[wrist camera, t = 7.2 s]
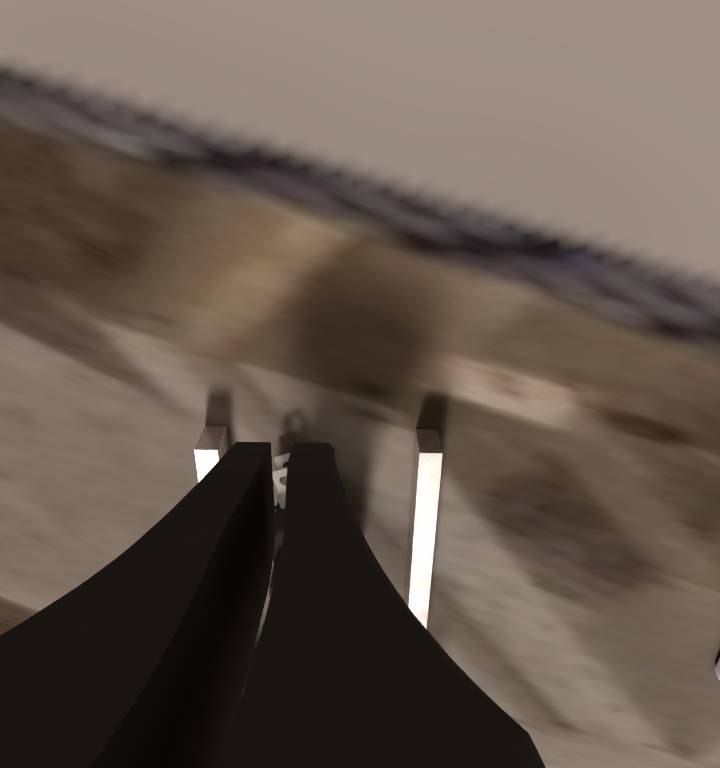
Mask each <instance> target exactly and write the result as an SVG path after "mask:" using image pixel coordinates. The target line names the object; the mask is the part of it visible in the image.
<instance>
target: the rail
mask: <svg viewBox="0 0 720 768" xmlns="http://www.w3.org/2000/svg"><path fill="white" fill-rule="evenodd" d="M228 450H229V446H228V436H227V426H205V427H204V429H203V431H202V434H201V436H200V438H199V441H198V443H197V445H196V447H195V450H194V451H195V459H196V466H197V474H198V482H199V481H200V480H201V479H202V478H203V477H204V476H205V475H206V474H207V473H208V472H209V471H210V470H211V468H212V467H213V466H214V465H215V464H216V463H217V462H218V461H219V460H220V459H221V458H222V456H223V455H224V454H225V453H226V452H227V451H228ZM442 455H443V453H442V448H441V444H440V439H439V434H438V429H416V435H415V450H414V465H413V480H412V495H411V510H410V525H409V540H408V554H407V569H406V584H405V599H404V602H405V603H406V604H407V606H408V607H409V608H410V610H411V611H412V612H413V614H414V615H415V616H416V617H417V619H418V620H419V621H420V622H421V623H422V625H423V626H424V627H425V628H426V629H427V618H428V607H429V596H430V585H431V574H432V563H433V552H434V542H435V531H436V520H437V509H438V498H439V487H440V476H441V465H442Z"/></svg>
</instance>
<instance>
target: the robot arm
mask: <svg viewBox="0 0 720 768" xmlns="http://www.w3.org/2000/svg"><path fill="white" fill-rule="evenodd" d="M275 536H276V523H275V507H274V490H273V473H272V456H271V442H236V443H235V444H234V445H233V446H232V447H231V448H230V449H229V450H228V451H227V452H226V453H225V454H224V455H223V456H222V458H221V459H220V460H219V461H218V462H217V463H216V464H215V465H214V466H213V467H212V468H211V470H210V471H209V472H208V473H207V474H206V475H205V476H204V477H203V478H202V479H201V480H200V481H199V482H198V483H197V485H196V486H195V487H194V488H193V489H192V490H191V491H190V492H189V493H188V494H187V495H186V496H185V497H184V498H183V499H182V500H181V501H180V502H179V503H178V504H177V505H176V506H175V507H174V508H173V509H172V510H171V511H170V512H169V513H168V514H166V515H165V516H164V517H163V518H162V519H161V520H160V521H159V522H158V523H157V524H155V525H154V526H153V527H152V528H151V529H150V530H149V531H148V532H147V533H146V534H144V535H143V536H142V537H141V538H140V539H139V540H138V541H137V542H136V543H134V544H133V545H132V546H131V547H130V548H128V549H127V550H126V551H125V552H124V553H122V554H121V555H120V556H119V557H117V558H116V559H115V560H114V561H112V562H111V563H109V564H108V565H107V566H105V567H104V568H103V569H101V570H100V571H99V572H97V573H96V574H95V575H93V576H92V577H91V578H89V579H88V580H87V581H85V582H84V583H82V584H81V585H79V586H78V587H77V588H75V589H73V590H72V591H70V592H69V593H67V594H66V595H64V596H63V597H61V598H60V599H58V600H56V601H55V602H53V603H52V604H50V605H49V606H47V607H46V608H44V609H43V610H41V611H39V612H38V613H36V614H35V615H33V616H32V617H30V618H29V619H27V620H25V621H24V622H22V623H21V624H19V625H17V626H16V627H14V628H12V629H10V630H9V631H7V632H5V633H3V634H2V635H0V768H546V767H545V765H544V763H543V761H542V759H541V757H540V755H539V753H538V751H537V749H536V747H535V745H534V743H533V741H532V739H531V737H530V735H529V733H528V732H527V731H526V730H524V729H523V728H522V727H521V726H520V725H519V724H518V723H517V722H515V721H514V720H513V719H512V718H511V717H510V716H509V715H508V714H507V713H505V712H504V711H503V710H502V709H501V708H500V707H499V706H498V705H497V704H496V703H495V702H494V701H493V700H492V699H491V698H490V697H489V696H487V695H486V694H485V693H484V692H483V691H482V690H481V689H480V688H479V687H478V686H477V685H476V684H475V683H474V682H473V681H472V680H471V679H470V678H469V677H468V676H467V674H466V673H465V672H464V671H463V670H462V669H461V668H460V667H459V666H458V665H457V664H456V663H455V662H454V661H453V660H452V659H451V658H450V657H449V656H448V654H447V653H446V652H445V651H444V650H443V648H442V647H441V646H440V645H439V644H438V642H437V641H436V640H435V639H434V638H433V636H432V635H431V634H430V633H429V632H428V631H427V629H426V628H425V627H424V626H423V625H422V623H421V622H420V621H419V620H418V619H417V617H416V616H415V615H414V614H413V612H412V611H411V610H410V608H409V607H408V606H407V604H406V603H405V602H404V600H403V599H402V597H401V596H400V595H399V593H398V592H397V590H396V589H395V588H394V586H393V585H392V583H391V581H390V580H389V578H388V577H387V575H386V574H385V572H384V571H383V569H382V568H381V566H380V564H379V563H378V561H377V559H376V558H375V556H374V554H373V552H372V551H371V549H370V547H369V545H368V543H367V541H366V540H365V538H364V536H363V534H362V532H361V530H360V528H359V526H358V524H357V522H356V520H355V517H354V515H353V513H352V510H351V508H350V506H349V503H348V501H347V499H346V496H345V494H344V491H343V488H342V485H341V482H340V479H339V476H338V472H337V468H336V464H335V456H334V448H333V447H332V446H331V445H330V444H329V443H294V445H293V447H292V450H291V453H290V456H289V459H288V462H287V480H286V499H285V518H284V535H283V543H282V551H281V556H280V560H279V565H278V569H277V573H276V578H275V582H274V586H273V591H272V594H271V598H270V602H269V606H268V610H267V614H266V617H265V621H264V625H263V629H262V633H261V636H260V640H259V643H258V646H257V650H256V653H255V656H254V660H253V663H252V666H251V670H250V673H249V677H248V680H247V683H246V686H245V689H244V692H243V695H242V691H243V687H244V684H245V680H246V676H247V672H248V668H249V664H250V660H251V656H252V652H253V648H254V644H255V640H256V636H257V632H258V628H259V624H260V620H261V616H262V612H263V608H264V604H265V600H266V596H267V592H268V587H269V583H270V576H271V569H272V561H273V553H274V545H275ZM715 673H716V674H717V676H718V678H719V680H720V659H719V661H718V663H717V666H716V668H715ZM241 695H242V698H241ZM240 699H241V701H240Z"/></svg>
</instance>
